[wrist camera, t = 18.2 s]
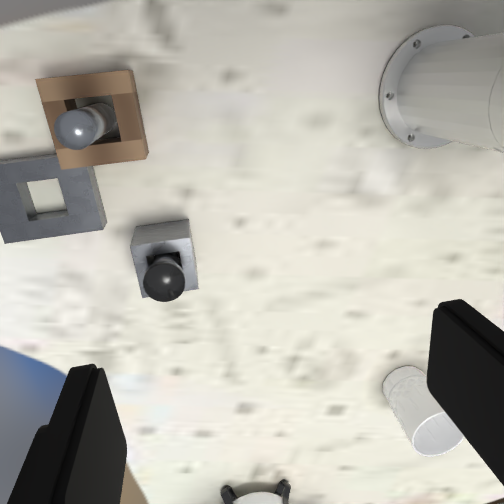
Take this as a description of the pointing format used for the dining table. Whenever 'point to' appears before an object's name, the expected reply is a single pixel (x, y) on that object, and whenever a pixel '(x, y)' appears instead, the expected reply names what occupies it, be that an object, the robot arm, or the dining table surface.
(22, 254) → the dining table surface
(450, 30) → the robot arm
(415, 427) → the white cup
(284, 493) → the coffee press
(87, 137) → the grey round-topped peg
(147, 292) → the dark grey knobbed peg
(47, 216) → the socket plate
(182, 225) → the housing
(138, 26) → the dining table surface
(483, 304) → the dining table surface
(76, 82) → the block
